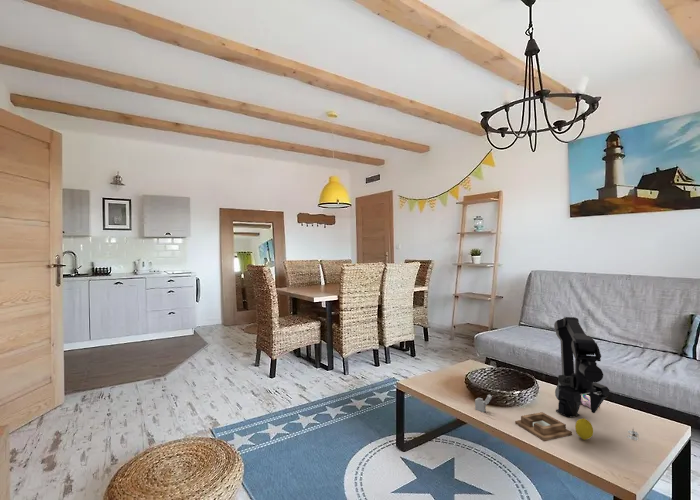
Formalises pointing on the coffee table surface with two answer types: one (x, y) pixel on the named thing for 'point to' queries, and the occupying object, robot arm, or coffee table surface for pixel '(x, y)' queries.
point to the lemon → (584, 429)
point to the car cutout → (632, 435)
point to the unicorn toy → (586, 402)
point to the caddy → (543, 426)
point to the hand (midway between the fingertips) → (584, 414)
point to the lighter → (482, 403)
